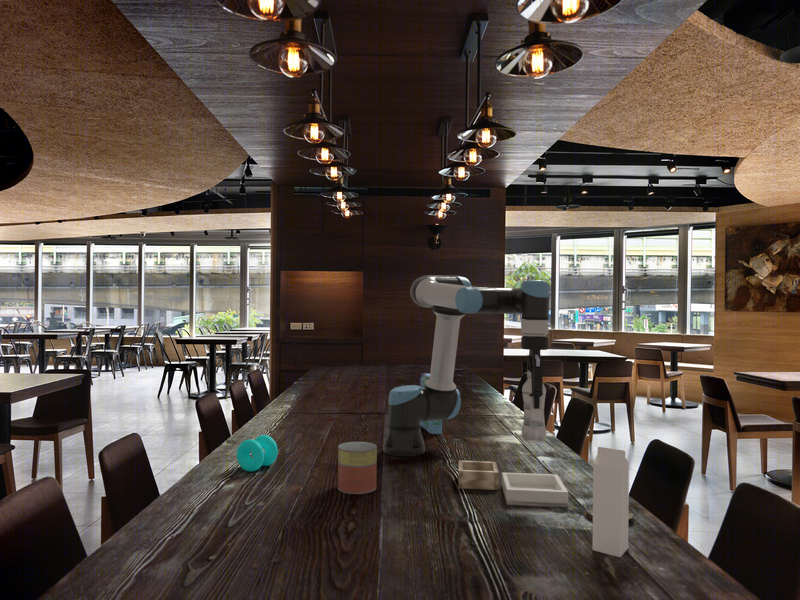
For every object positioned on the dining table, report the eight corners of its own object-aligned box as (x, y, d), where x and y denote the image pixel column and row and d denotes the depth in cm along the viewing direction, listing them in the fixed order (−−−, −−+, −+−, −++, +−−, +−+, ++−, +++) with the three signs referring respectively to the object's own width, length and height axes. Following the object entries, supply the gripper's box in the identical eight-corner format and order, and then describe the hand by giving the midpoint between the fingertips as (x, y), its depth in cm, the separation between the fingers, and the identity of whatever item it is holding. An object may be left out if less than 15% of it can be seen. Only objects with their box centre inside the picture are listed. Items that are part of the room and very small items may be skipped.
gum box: (419, 425, 255) (419, 373, 255) (430, 424, 256) (430, 373, 257) (431, 434, 236) (431, 379, 236) (442, 434, 237) (443, 378, 238)
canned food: (382, 484, 170) (382, 443, 170) (367, 496, 159) (368, 452, 159) (347, 480, 173) (347, 440, 174) (330, 491, 163) (331, 448, 163)
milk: (600, 541, 130) (601, 443, 130) (628, 548, 126) (629, 447, 127) (592, 550, 125) (592, 448, 125) (620, 558, 121) (621, 453, 122)
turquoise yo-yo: (279, 466, 187) (279, 435, 187) (259, 474, 178) (260, 442, 178) (254, 462, 191) (255, 432, 191) (234, 470, 182) (234, 438, 182)
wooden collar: (458, 488, 167) (458, 470, 167) (458, 476, 178) (458, 460, 178) (498, 489, 166) (498, 472, 166) (495, 478, 177) (495, 461, 177)
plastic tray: (506, 504, 153) (507, 489, 153) (501, 486, 169) (502, 472, 169) (568, 507, 152) (568, 492, 152) (557, 488, 168) (557, 474, 168)
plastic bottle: (546, 445, 157) (547, 372, 157) (521, 444, 158) (522, 371, 159) (545, 440, 163) (546, 369, 163) (521, 439, 165) (522, 369, 165)
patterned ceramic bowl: (610, 530, 137) (610, 499, 137) (574, 514, 148) (574, 485, 148) (645, 522, 143) (645, 492, 143) (608, 507, 153) (608, 479, 153)
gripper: (554, 337, 151) (553, 425, 151) (543, 333, 170) (542, 412, 170) (525, 336, 152) (524, 424, 152) (517, 333, 171) (516, 411, 171)
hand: (534, 417), depth 161 cm, fingers closed on plastic bottle, 6 cm apart
